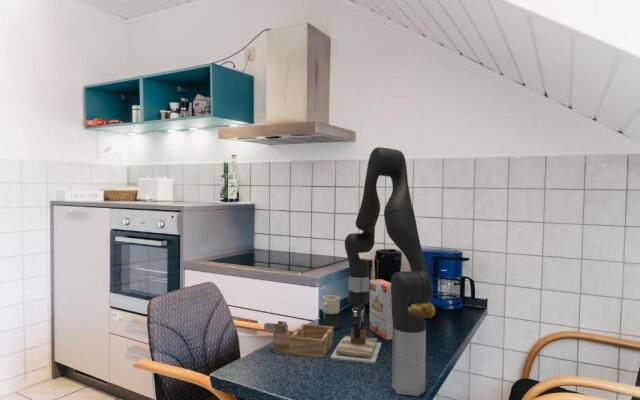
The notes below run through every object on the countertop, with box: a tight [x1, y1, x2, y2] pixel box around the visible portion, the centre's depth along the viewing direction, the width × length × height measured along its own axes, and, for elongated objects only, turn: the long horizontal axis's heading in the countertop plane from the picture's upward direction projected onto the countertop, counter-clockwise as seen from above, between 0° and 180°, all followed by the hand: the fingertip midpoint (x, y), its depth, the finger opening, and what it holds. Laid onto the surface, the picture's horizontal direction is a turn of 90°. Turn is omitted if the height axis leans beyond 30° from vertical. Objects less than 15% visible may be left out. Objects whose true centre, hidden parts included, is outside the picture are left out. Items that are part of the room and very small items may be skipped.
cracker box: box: [369, 278, 393, 341], centre depth 166 cm, size 14×6×21 cm, turn 21°
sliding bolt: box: [263, 321, 289, 332], centre depth 147 cm, size 2×8×3 cm, turn 75°
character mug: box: [322, 294, 341, 330], centre depth 174 cm, size 11×7×13 cm, turn 142°
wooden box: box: [272, 320, 335, 359], centre depth 150 cm, size 16×18×10 cm
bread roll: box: [408, 301, 436, 319], centre depth 194 cm, size 13×10×8 cm
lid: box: [335, 327, 378, 358], centre depth 148 cm, size 16×12×6 cm
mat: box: [330, 338, 382, 364], centre depth 148 cm, size 19×15×1 cm
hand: (358, 335), depth 150 cm, fingers open, 6 cm apart
